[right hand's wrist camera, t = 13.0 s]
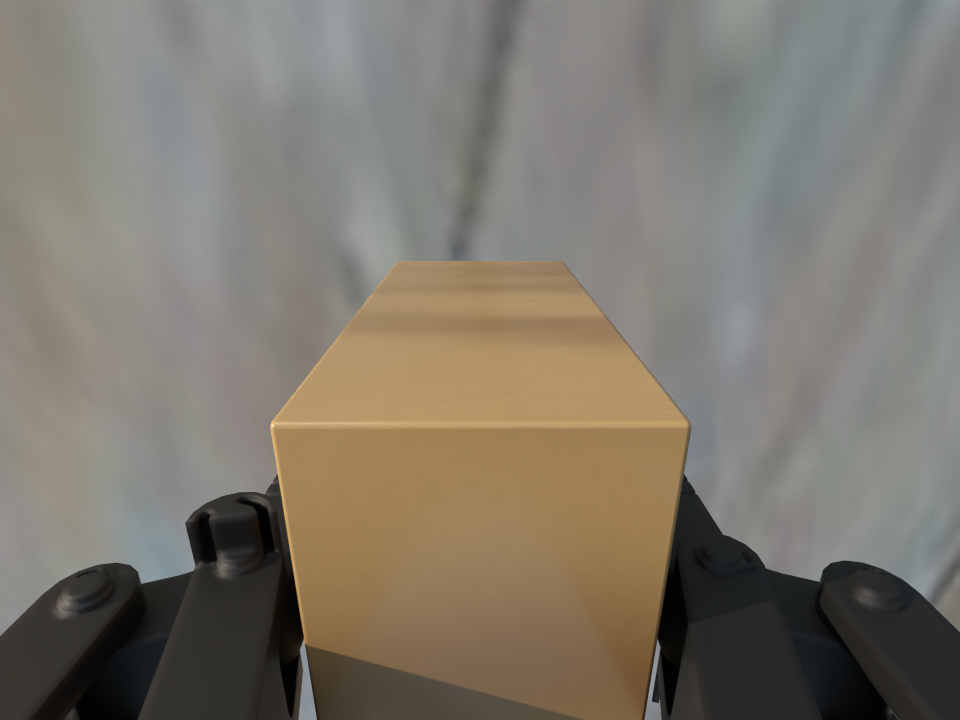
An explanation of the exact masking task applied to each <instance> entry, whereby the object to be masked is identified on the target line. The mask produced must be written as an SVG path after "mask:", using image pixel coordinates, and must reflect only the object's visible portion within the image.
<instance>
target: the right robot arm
mask: <svg viewBox="0 0 960 720" xmlns="http://www.w3.org/2000/svg"><path fill="white" fill-rule="evenodd" d="M185 524H186V528H187V532H188V536H189V541H190V545H191V549H192V553H193V557H194V561H195V565H196V566H195V569H194V571H192V572H189V573H186V574H182V575H179V576H175V577H170V578H166V579H161V580H157V581H152V582H148V583H144V584H141V581H140V578H139V574H138V572H137V571H136V570H135V569H134V568H133V567H132V566H130V565H126V564H121V563H110V564H101V565H96V566H93V567H90V568H87V569H84V570H81V571H78V572H76V573H74V574H73V575H71V576H69V577H67V578H65V579H63V580H61V581H59V582H58V583H57V584H55V585H54V586H53V587H52V588H50V589H49V590H48V591H46V592H45V593H44V594H43V595H42V596H41V597H40V598H39V599H38V600H37V601H36V602H35V603H34V604H33V605H32V606H31V607H29V608H28V609H27V610H26V611H25V612H24V613H23V614H22V615H21V616H20V617H19V618H18V619H17V620H16V621H15V622H14V623H13V624H12V625H11V626H10V627H9V628H8V629H7V630H6V631H5V632H4V633H3V634H2V635H1V636H0V720H64V719H65V720H298V718H299V707H300V696H301V685H302V674H303V667H302V661H301V655H300V647H301V645H302V642H303V639H304V634H303V628H302V622H301V616H300V609H299V603H298V597H297V591H296V584H295V578H294V572H293V566H292V559H291V553H290V547H289V541H288V534H287V528H286V522H285V516H284V509H283V503H282V497H281V491H280V484H279V478H278V474H277V476H276V477H275V479H274V480H273V484H271V485H270V487H269V488H268V490H267V491H266V493H265V495H264V494H261V493H257V492H239V493H235V494H230V495H226V496H222V497H220V498H217V499H215V500H213V501H210V502H208V503H206V504H205V505H203V506H202V507H200V508H199V509H197V510H196V511H195V512H193V514H192V515H191V516H190V517H189V519H188V520H187V521H186V523H185ZM657 638H658V641H659V644H660V647H661V648H660V655H659V661H658V667H657V673H656V679H655V685H654V691H653V697H652V702H657V703H659V698H660V706H661V716H662V720H898V719H899V720H960V632H959V631H958V630H957V629H956V628H955V627H954V626H953V625H952V624H951V623H950V622H949V621H948V620H947V619H945V618H944V617H943V616H942V615H941V614H940V613H939V612H938V611H937V610H936V609H935V608H934V607H933V606H932V605H931V604H930V603H929V602H928V601H927V600H926V599H925V598H924V597H923V596H922V595H921V594H920V593H919V592H918V591H916V590H915V589H914V588H913V587H911V586H910V585H909V584H907V583H906V582H905V581H904V580H902V579H901V578H899V577H897V576H895V575H893V574H891V573H889V572H887V571H885V570H883V569H881V568H878V567H875V566H871V565H868V564H865V563H861V562H852V561H840V562H834V563H830V564H829V565H828V566H827V567H826V568H825V569H824V570H823V572H822V576H821V579H820V582H818V581H813V580H809V579H804V578H800V577H795V576H791V575H786V574H782V573H779V572H775V571H772V570H768V569H766V568H765V566H764V564H763V562H762V561H761V559H760V558H759V556H758V555H757V554H756V553H755V552H754V551H753V550H751V549H750V548H749V547H748V546H746V545H745V544H744V543H741V542H739V541H737V540H735V539H733V538H731V537H729V536H725V535H723V534H722V532H721V531H720V529H719V528H718V526H717V525H716V523H715V521H714V520H713V518H712V517H711V515H710V514H709V512H708V511H707V509H706V507H705V506H704V504H703V503H702V501H701V500H700V498H699V497H698V495H696V494H695V490H694V489H693V487H692V486H691V484H690V483H689V482H688V481H687V478H686V476H685V475H684V476H683V482H682V488H681V495H680V501H679V507H678V513H677V519H676V526H675V532H674V538H673V544H672V550H671V557H670V563H669V569H668V575H667V582H666V588H665V594H664V600H663V606H662V613H661V619H660V625H659V631H658V637H657ZM893 712H894V713H893ZM894 714H895V715H896V716H897V717H896V716H895V715H894ZM67 715H68V716H67ZM897 718H898V719H897Z"/></svg>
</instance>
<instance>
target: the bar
mask: <svg viewBox="0 0 960 720" xmlns="http://www.w3.org/2000/svg"><path fill="white" fill-rule="evenodd" d="M270 428H271V434H272V441H273V447H274V453H275V459H276V466H277V472H278V478H279V484H280V491H281V497H282V503H283V509H284V516H285V522H286V528H287V534H288V541H289V547H290V553H291V559H292V566H293V572H294V578H295V584H296V591H297V597H298V603H299V609H300V616H301V622H302V628H303V634H304V641H305V647H306V653H307V659H308V666H309V672H310V678H311V684H312V691H313V697H314V703H315V709H316V716H317V720H644V718H645V712H646V706H647V700H648V693H649V687H650V681H651V675H652V669H653V662H654V656H655V650H656V644H657V637H658V631H659V625H660V619H661V613H662V606H663V600H664V594H665V588H666V582H667V575H668V569H669V563H670V557H671V550H672V544H673V538H674V532H675V526H676V519H677V513H678V507H679V501H680V495H681V488H682V482H683V476H684V470H685V463H686V457H687V451H688V445H689V439H690V432H691V423H690V421H689V420H688V418H687V417H686V416H685V415H684V413H683V412H682V411H681V410H680V408H679V407H678V406H677V405H676V403H675V402H674V401H673V400H672V398H671V397H670V396H669V395H668V393H667V392H666V391H665V390H664V388H663V387H662V386H661V384H660V383H659V382H658V381H657V379H656V378H655V377H654V376H653V374H652V373H651V372H650V371H649V369H648V368H647V367H646V366H645V364H644V363H643V362H642V361H641V359H640V358H639V357H638V356H637V354H636V353H635V352H634V351H633V349H632V348H631V347H630V345H629V344H628V343H627V342H626V340H625V339H624V338H623V337H622V335H621V334H620V333H619V332H618V330H617V329H616V328H615V327H614V325H613V324H612V323H611V322H610V320H609V319H608V318H607V317H606V315H605V314H604V313H603V311H602V310H601V309H600V308H599V306H598V305H597V304H596V303H595V301H594V300H593V299H592V298H591V296H590V295H589V294H588V293H587V291H586V290H585V289H584V288H583V286H582V285H581V284H580V283H579V281H578V280H577V279H576V277H575V276H574V275H573V274H572V272H571V271H570V270H569V269H568V267H567V266H566V265H565V264H564V262H562V261H398V262H396V264H395V265H394V266H393V267H392V269H391V270H390V271H389V273H388V274H387V275H386V276H385V278H384V279H383V280H382V282H381V283H380V284H379V285H378V287H377V288H376V289H375V290H374V292H373V293H372V294H371V296H370V297H369V298H368V299H367V301H366V302H365V303H364V305H363V306H362V307H361V308H360V310H359V311H358V312H357V314H356V315H355V316H354V317H353V319H352V320H351V321H350V322H349V324H348V325H347V326H346V328H345V329H344V330H343V331H342V333H341V334H340V335H339V337H338V338H337V339H336V340H335V342H334V343H333V344H332V345H331V347H330V348H329V349H328V351H327V352H326V353H325V354H324V356H323V357H322V358H321V360H320V361H319V362H318V363H317V365H316V366H315V367H314V368H313V370H312V371H311V372H310V374H309V375H308V376H307V377H306V379H305V380H304V381H303V383H302V384H301V385H300V386H299V388H298V389H297V390H296V391H295V393H294V394H293V395H292V397H291V398H290V399H289V400H288V402H287V403H286V404H285V406H284V407H283V408H282V409H281V411H280V412H279V413H278V415H277V416H276V417H275V418H274V420H273V421H272V423H271V426H270Z"/></svg>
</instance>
